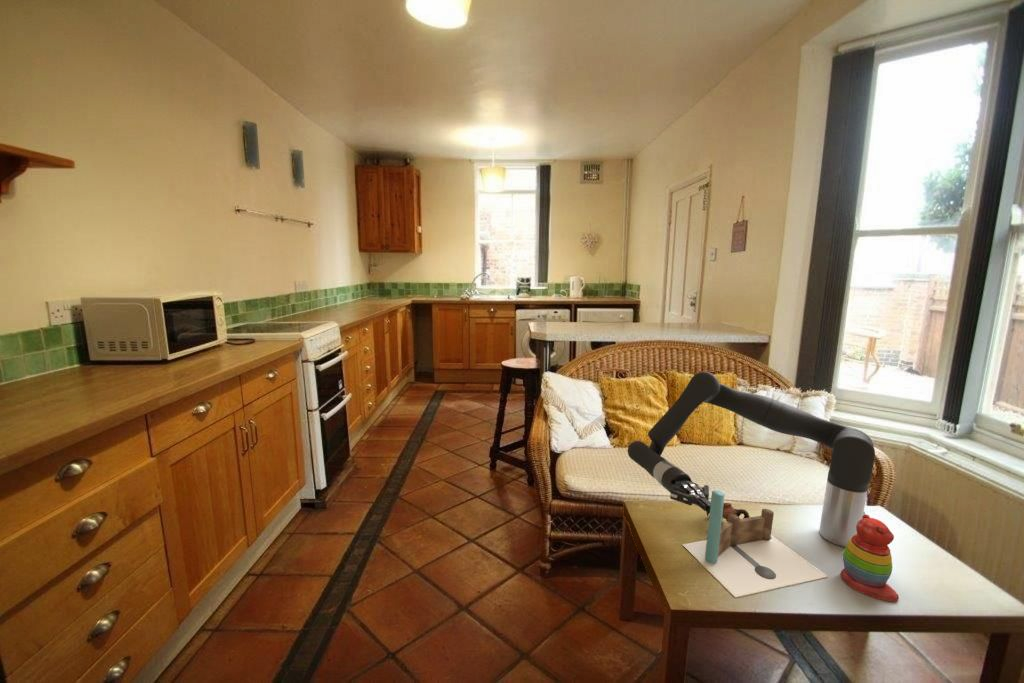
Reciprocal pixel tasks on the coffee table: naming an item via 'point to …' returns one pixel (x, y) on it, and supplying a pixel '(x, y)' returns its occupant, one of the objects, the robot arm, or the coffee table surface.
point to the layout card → (756, 566)
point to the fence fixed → (751, 527)
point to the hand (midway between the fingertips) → (710, 509)
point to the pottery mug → (732, 511)
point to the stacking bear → (869, 560)
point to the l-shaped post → (717, 529)
